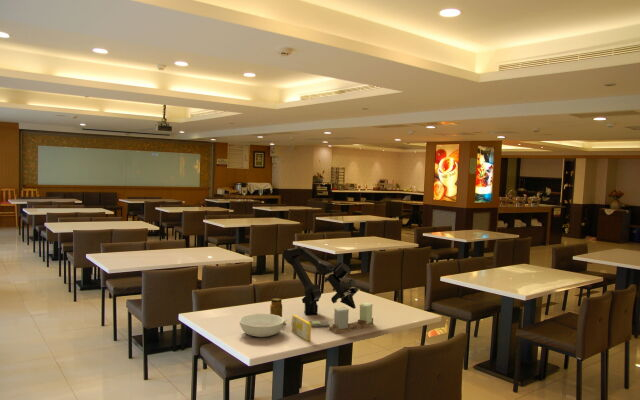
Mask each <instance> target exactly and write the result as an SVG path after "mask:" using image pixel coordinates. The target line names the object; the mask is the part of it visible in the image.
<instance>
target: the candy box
mask: <svg viewBox="0 0 640 400" xmlns="http://www.w3.org/2000/svg"><path fill="white" fill-rule="evenodd" d="M291 332H292V333H293V334H295V335H296V336H298V337H300V338H302V339H303V340H304V341H306V342H310V341H311V340H312V339H311V337H312V336H311V335H312V328H311V323H310V322H309V321H308V320H306V319H304V318H302V317H300V316H299V315H297V314H292V317H291Z"/></svg>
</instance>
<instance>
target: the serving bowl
mask: <svg viewBox="0 0 640 400" xmlns="http://www.w3.org/2000/svg"><path fill="white" fill-rule="evenodd" d="M284 320H285V319H284V318H283V316H282V317H280V316H277V315H273V314H270V313H253V314H252V313H251V314H247V315H244V316H242V317H241V318H240V319H239V326H240V328H241V330H242V331H243V332H244V333H245V334H247V335H249V336H253V337H257V338H263V337H264V338H265V337H270V336H273V335H276V334H278V333H279V332H280V331H281V330H282V329H283V327H284V325H285V324H284Z"/></svg>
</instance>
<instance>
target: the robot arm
mask: <svg viewBox="0 0 640 400" xmlns="http://www.w3.org/2000/svg"><path fill="white" fill-rule="evenodd" d="M300 256H301V257H302V258H304V259H305V260H306V261H308V262H309V263H310V264H311V265H313V266H314V267H315V269H316V272H318V273H319V274H320V275H321V276H325V277H324V283H327V282H328V283H329V285H330V286H331V287H332V291H333V292H334V291H335V294H334V295H332V297H331V303H332V304H336V303H337V302H338V300H339V299H340V301H339V302H340V303H342V304H343V305H347V306H348V307H350V309H351V308H352V309H356V308H357V307H356V304H355V300H354V296H355V295H356V293H357V292H359V288H358V287H357V285H356V284H357V281H356V280H355V279H354V278H351V279H349V280H348V282H346V281H345V280H344V281H342V279H344V278H345V277H346V276H347V275H348V274H349V273H350V272H351V269H350V267H349V265H347V264H346V263H344V262H343V261H340V262H339V263H338V264H337V265H335V266H334V265H333V263H330V262H328V261H325V260H323V259H321V258H319V257H318V256H316V254H315V253H313V252H311V251H310V250H309V249H307V247H305V246H301V247H300V246H299V247H297V248H288V249H285V250H283V252H282V257H283V259H284V260H285V262H286V263H287V264H289V265H290V266H291V268H292V269H293V270H294V271H295V273H296V276H297V277H298V279H299V281H300V282H301V284H302V286H303V289H304V295H305V296H304V297H302V299H301V301H302V304H304V311H303V313H304V316H317V315H318V311H319V307H318V306H319V305H318V303H317V302H319V301H320V299H321V297H322V292H321V291H322V289H321V288H320V287H319V285H318V283H315V284H314V283H313V282H312V280H311V278H310V276H309V275H308V273H307V272H306V270H305V268H304V267H303V266H304V265H302V263H301V262H300ZM327 275H328V276H327Z"/></svg>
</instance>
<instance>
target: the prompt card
mask: <svg viewBox="0 0 640 400" xmlns="http://www.w3.org/2000/svg"><path fill="white" fill-rule="evenodd" d="M308 322H310V323H311V329H313V328H329V327H330V326H331V324H330V323H329V321H328V320H313V321H312V320H311V321H308Z"/></svg>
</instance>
